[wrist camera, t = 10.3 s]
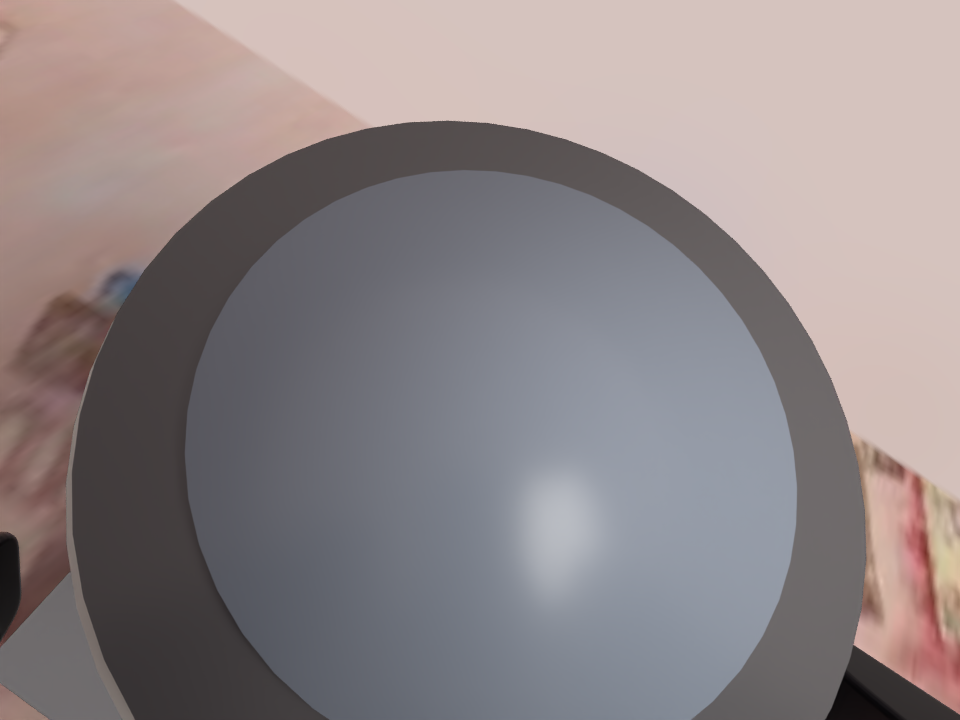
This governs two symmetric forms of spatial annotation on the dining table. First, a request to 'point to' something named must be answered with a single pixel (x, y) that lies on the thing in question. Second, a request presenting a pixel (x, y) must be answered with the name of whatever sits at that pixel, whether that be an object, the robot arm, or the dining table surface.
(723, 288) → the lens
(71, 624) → the stand
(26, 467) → the dining table surface
